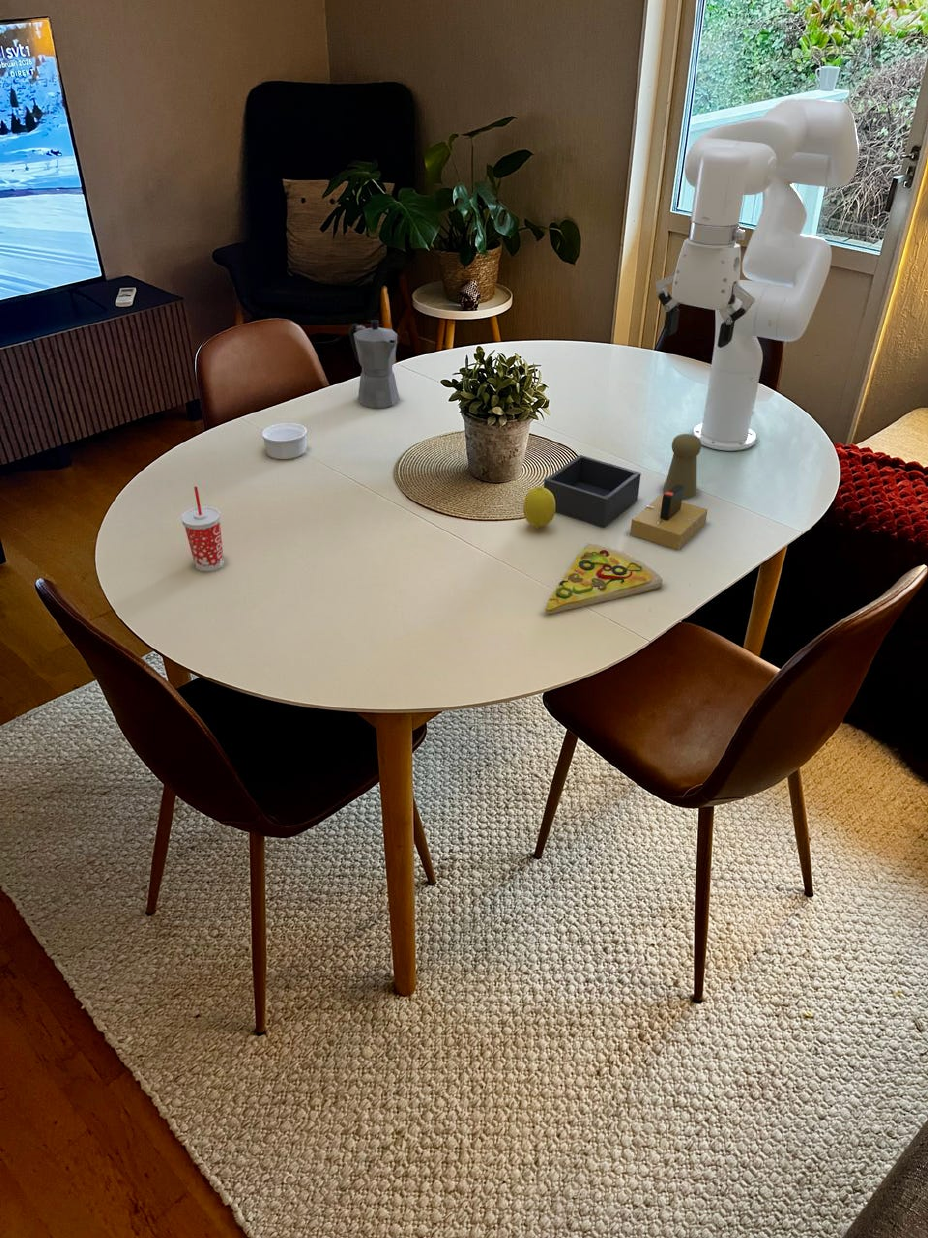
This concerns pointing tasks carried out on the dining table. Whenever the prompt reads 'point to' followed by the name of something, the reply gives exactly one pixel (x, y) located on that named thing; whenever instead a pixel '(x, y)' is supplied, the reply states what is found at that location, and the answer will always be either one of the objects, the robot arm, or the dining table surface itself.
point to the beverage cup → (204, 536)
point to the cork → (684, 464)
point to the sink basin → (593, 490)
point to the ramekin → (285, 440)
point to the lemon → (539, 507)
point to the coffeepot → (375, 364)
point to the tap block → (668, 524)
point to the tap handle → (671, 502)
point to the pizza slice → (601, 579)
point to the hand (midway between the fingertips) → (696, 339)
